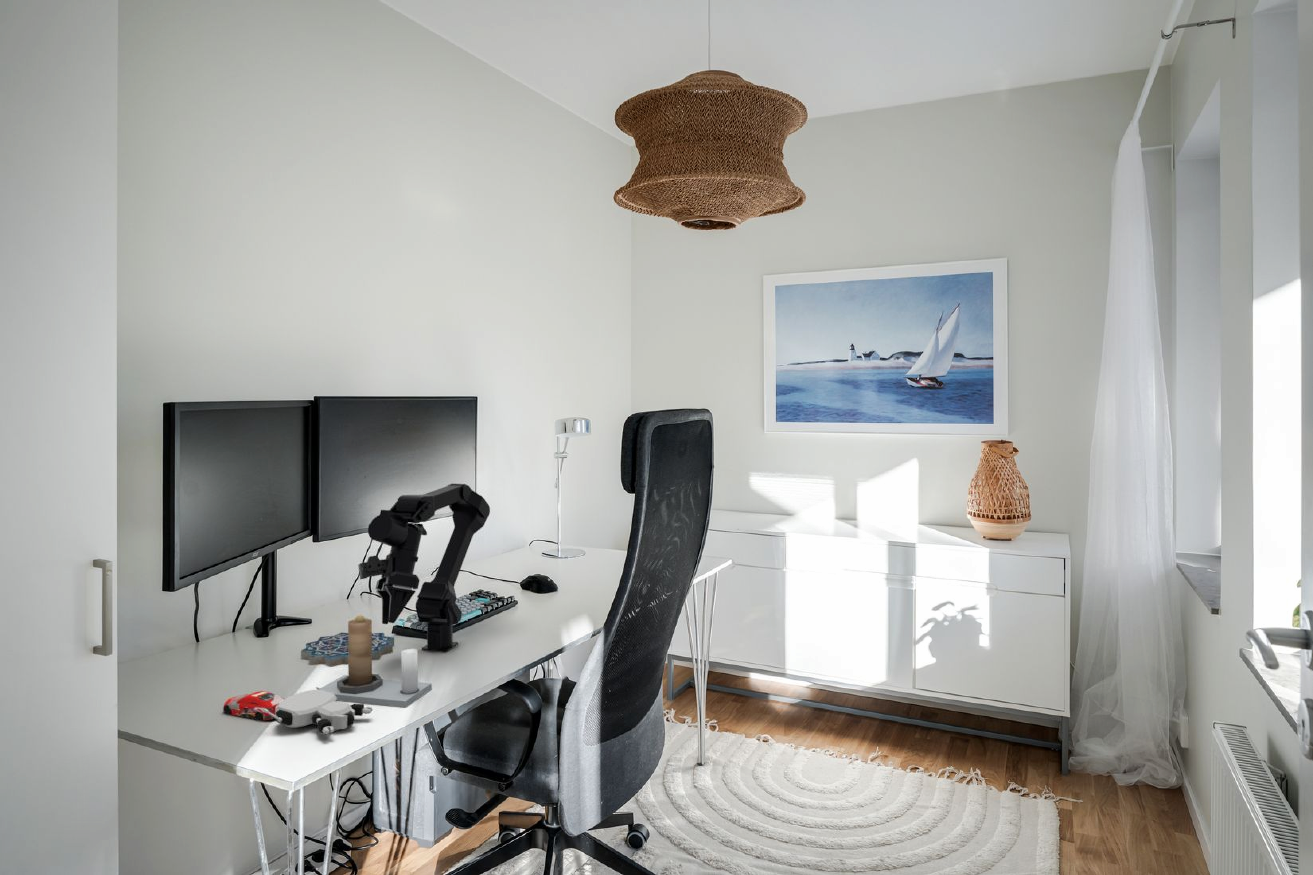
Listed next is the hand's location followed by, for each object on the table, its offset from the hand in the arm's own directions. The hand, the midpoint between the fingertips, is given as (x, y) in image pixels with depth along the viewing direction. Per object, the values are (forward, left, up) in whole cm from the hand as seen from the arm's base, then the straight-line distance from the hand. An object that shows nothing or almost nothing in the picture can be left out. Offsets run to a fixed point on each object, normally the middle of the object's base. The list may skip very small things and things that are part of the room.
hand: (387, 623), depth 166 cm
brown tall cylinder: (+10, 0, -10) cm, 14 cm away
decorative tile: (-12, -17, -12) cm, 24 cm away
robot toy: (+26, +2, -12) cm, 29 cm away
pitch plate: (+10, +3, -11) cm, 15 cm away
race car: (+24, -13, -12) cm, 30 cm away
